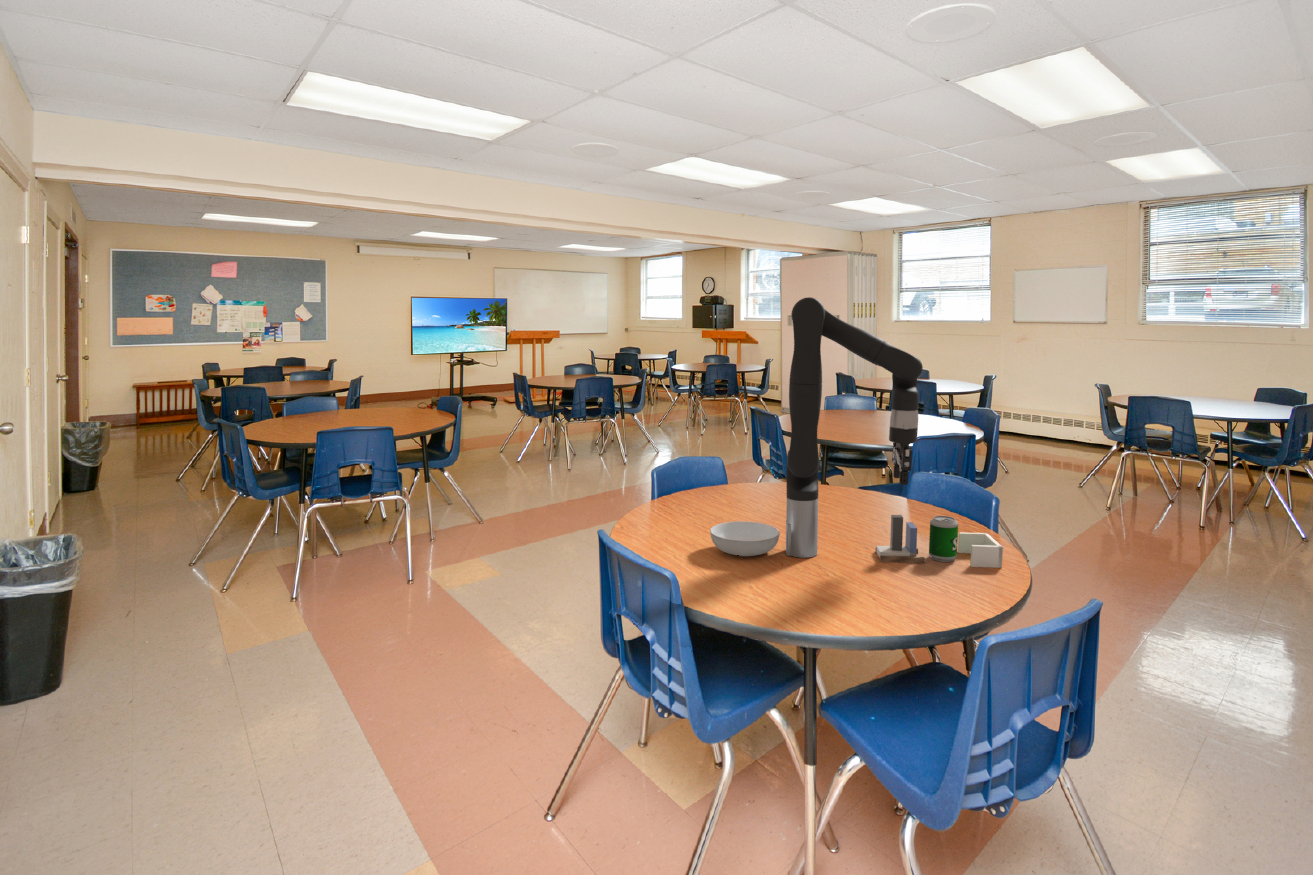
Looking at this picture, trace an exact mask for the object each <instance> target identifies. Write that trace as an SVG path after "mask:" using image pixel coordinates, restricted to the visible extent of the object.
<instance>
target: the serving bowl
mask: <svg viewBox="0 0 1313 875" xmlns="http://www.w3.org/2000/svg"><path fill="white" fill-rule="evenodd" d="M709 533H710V534H709V535H710V538H711V541H712V543H713V545H714V546H715V547H716V548H717V549H718V550H720V551H721V552H723V553H727V554H729V555H733V556H737V555H739V556H738V557H754V556H759V555H764V554H766V553H769V552H770V551H772V550H773V549H774V548H775V547H776V545H777V544H778V541H779V538H780V534H781V532H780V530H779V529H778V528H777V527H775V526H773V525H770V524H767V523H762V522H757V521H756V522H755V521H745V520H743V521H727V522H721V523H718V524H716V525H714V526H711V528H710V529H709Z"/></svg>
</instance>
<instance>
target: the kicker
mask: <svg viewBox="0 0 1313 875" xmlns="http://www.w3.org/2000/svg"><path fill="white" fill-rule="evenodd" d="M890 516H891V517H890V538H889V539H890V541H889V542H890V544H889V545H876V547H877V548H876V547H875V553H876V552H877V553H876V554H877V556H878V557H879V559H880V556H913V557H917V554H916V548H918V547H917V544H918V543H917V542H918V527H917V526H916V525H915V524H914V522H913V521H912V522H911V521H907V522H906V523H905V543H904V545H903V536H904V534H903V533H904V532H903V531H904V517H903V515H902V514H891V515H890Z"/></svg>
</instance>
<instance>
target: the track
mask: <svg viewBox="0 0 1313 875" xmlns="http://www.w3.org/2000/svg"><path fill="white" fill-rule="evenodd" d="M876 548H877V546H875V549H876ZM875 553H876V554H877V552H876V551H875ZM918 554H919V548H918V547H917V548H916V555H918ZM879 560H880V562H881V563H882V562H883V563H911V564H914V563H916V564H925V562H926V561H925V556H916V557H913V556H880V558H879Z"/></svg>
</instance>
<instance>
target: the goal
mask: <svg viewBox="0 0 1313 875" xmlns="http://www.w3.org/2000/svg"><path fill="white" fill-rule="evenodd" d="M957 554H970V560H969V563H970V565H969V567H971V568H998V569H1001V568H1003V555H1004V546H1003V545H1001V544H1000V543H999V542H998V541H997V540H996V539H994V538H993V537H992V536H991V535H990V534H989V533H987V532H962V531H960V532H959V531H958V541H957Z"/></svg>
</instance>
